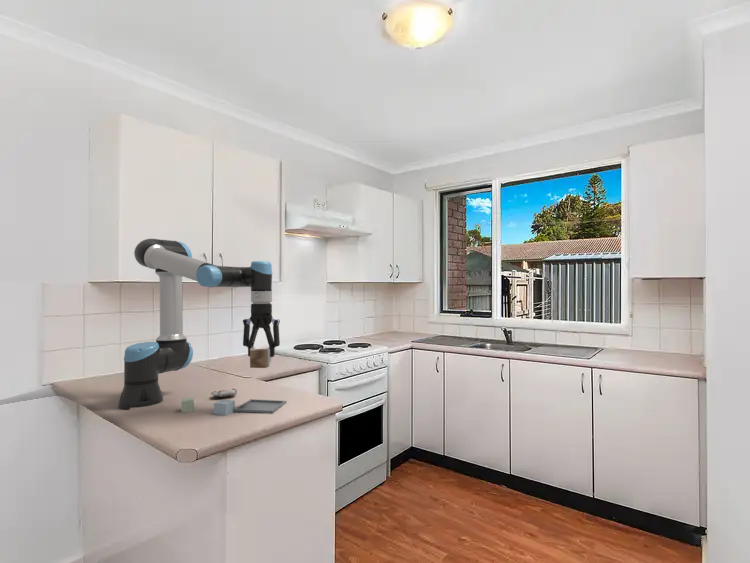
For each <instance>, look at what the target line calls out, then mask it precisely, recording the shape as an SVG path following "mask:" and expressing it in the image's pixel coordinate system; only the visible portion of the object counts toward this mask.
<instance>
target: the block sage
mask: <svg viewBox="0 0 750 563" xmlns="http://www.w3.org/2000/svg"><path fill="white" fill-rule="evenodd" d="M194 411H195V397H185V398H181V413H188V412H189V413H190V412H191V413H192V412H194Z"/></svg>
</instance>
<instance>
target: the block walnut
mask: <svg viewBox="0 0 750 563" xmlns="http://www.w3.org/2000/svg"><path fill="white" fill-rule="evenodd" d="M267 349H268V348H255V350H252V351H250V356H249V368H251V369H258V368H259V369H266V368H269V367H268V353H267Z"/></svg>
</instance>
